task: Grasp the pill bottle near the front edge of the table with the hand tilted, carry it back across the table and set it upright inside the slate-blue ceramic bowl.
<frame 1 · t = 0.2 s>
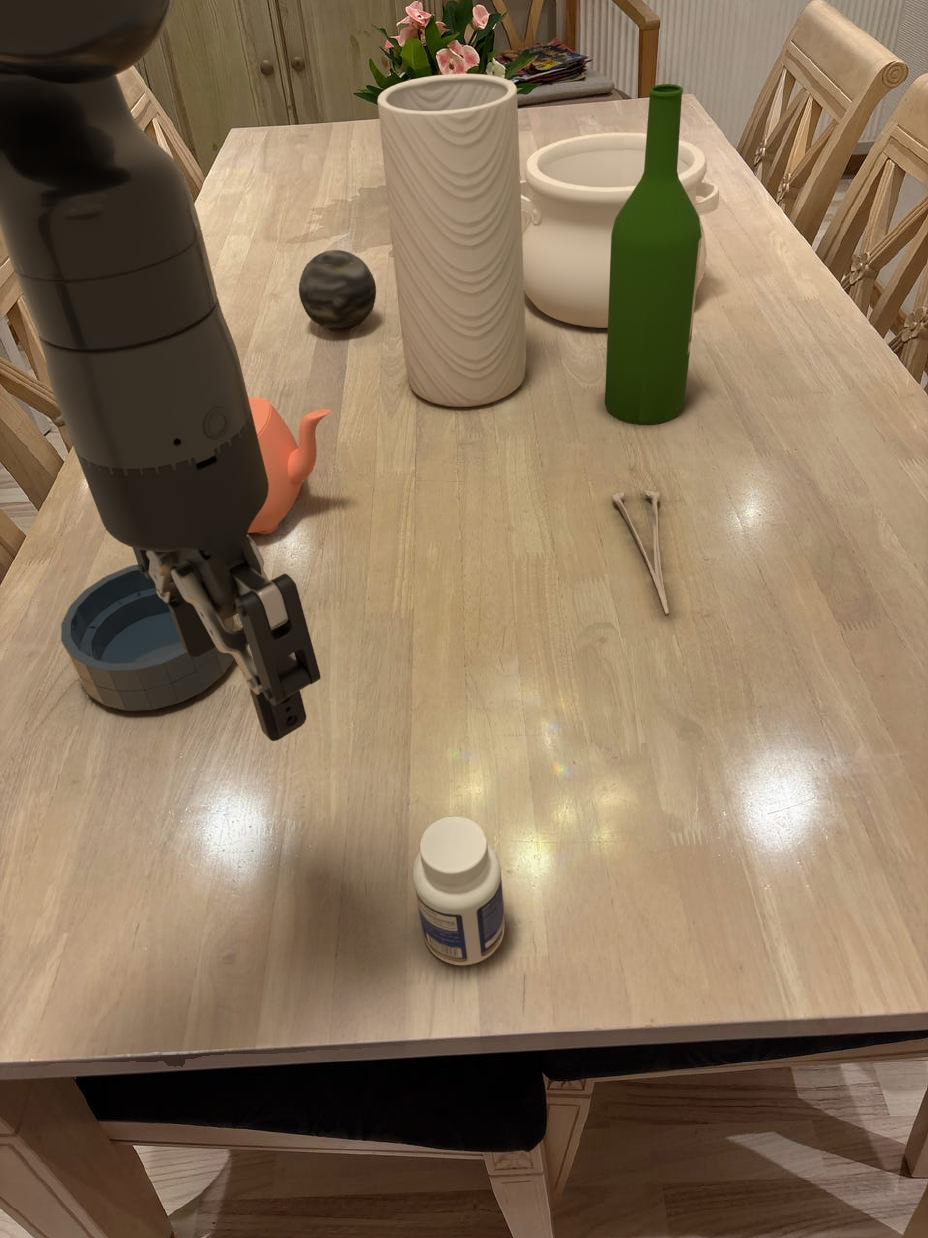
hand: (244, 686, 52), 21 cm above the table, tool pointing down, fingers open, 8 cm apart
teapot: (253, 510, 100), on the table
decorative stone: (343, 328, 130), on the table
wine bottle: (644, 406, 110), on the table
vase: (467, 382, 117), on the table
jawbone: (649, 555, 91), on the table
pill bottle: (464, 931, 63), on the table
bowl: (163, 658, 84), on the table
pot: (609, 297, 131), on the table
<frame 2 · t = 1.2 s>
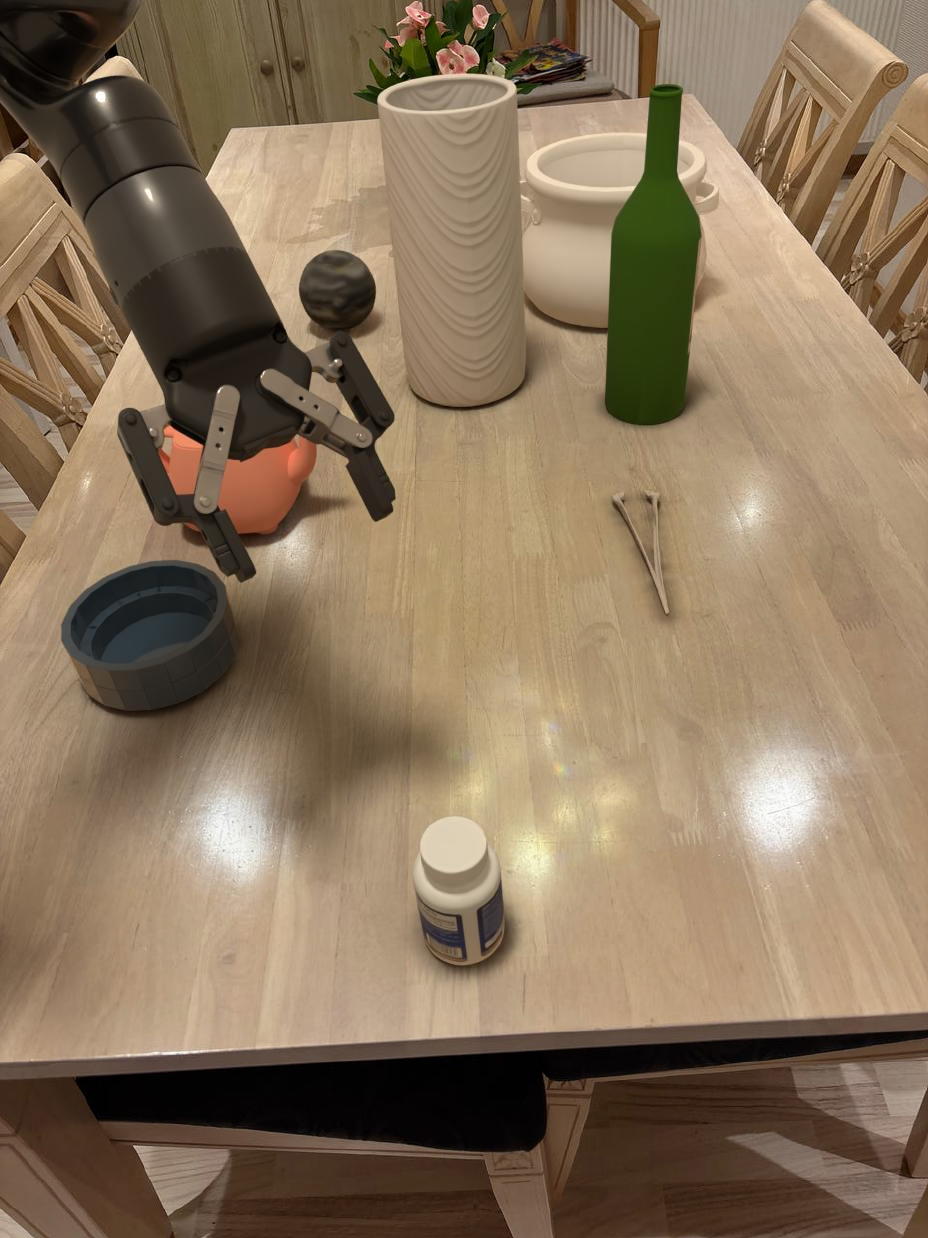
hand: (318, 546, 54), 25 cm above the table, tool tilted 45°, fingers open, 8 cm apart
nothing on the table moved.
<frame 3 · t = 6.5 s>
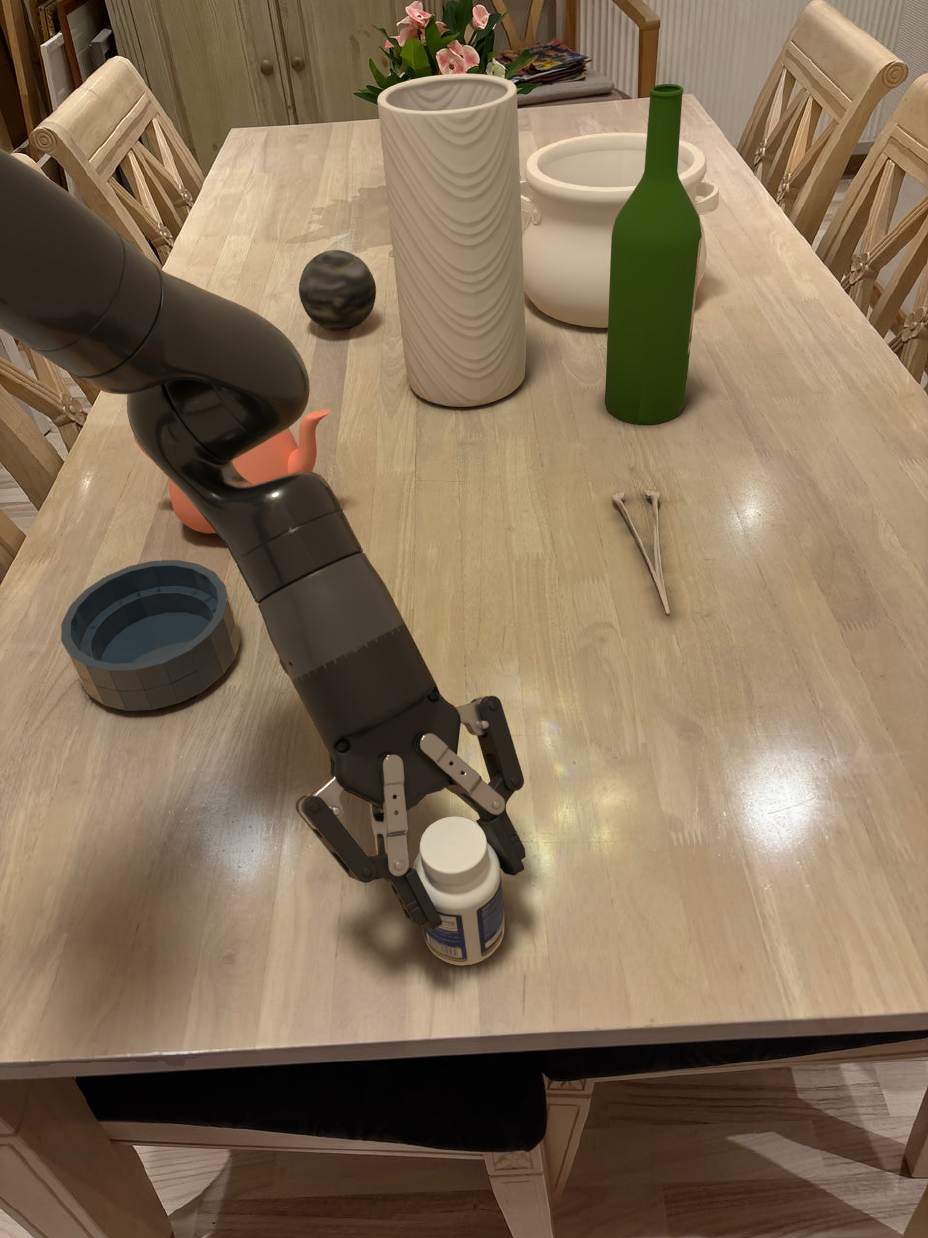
hand: (474, 897, 58), 6 cm above the table, tool tilted 45°, fingers closed on pill bottle, 5 cm apart
pill bottle: (464, 931, 63), on the table, touching gripper
everything else where it was.
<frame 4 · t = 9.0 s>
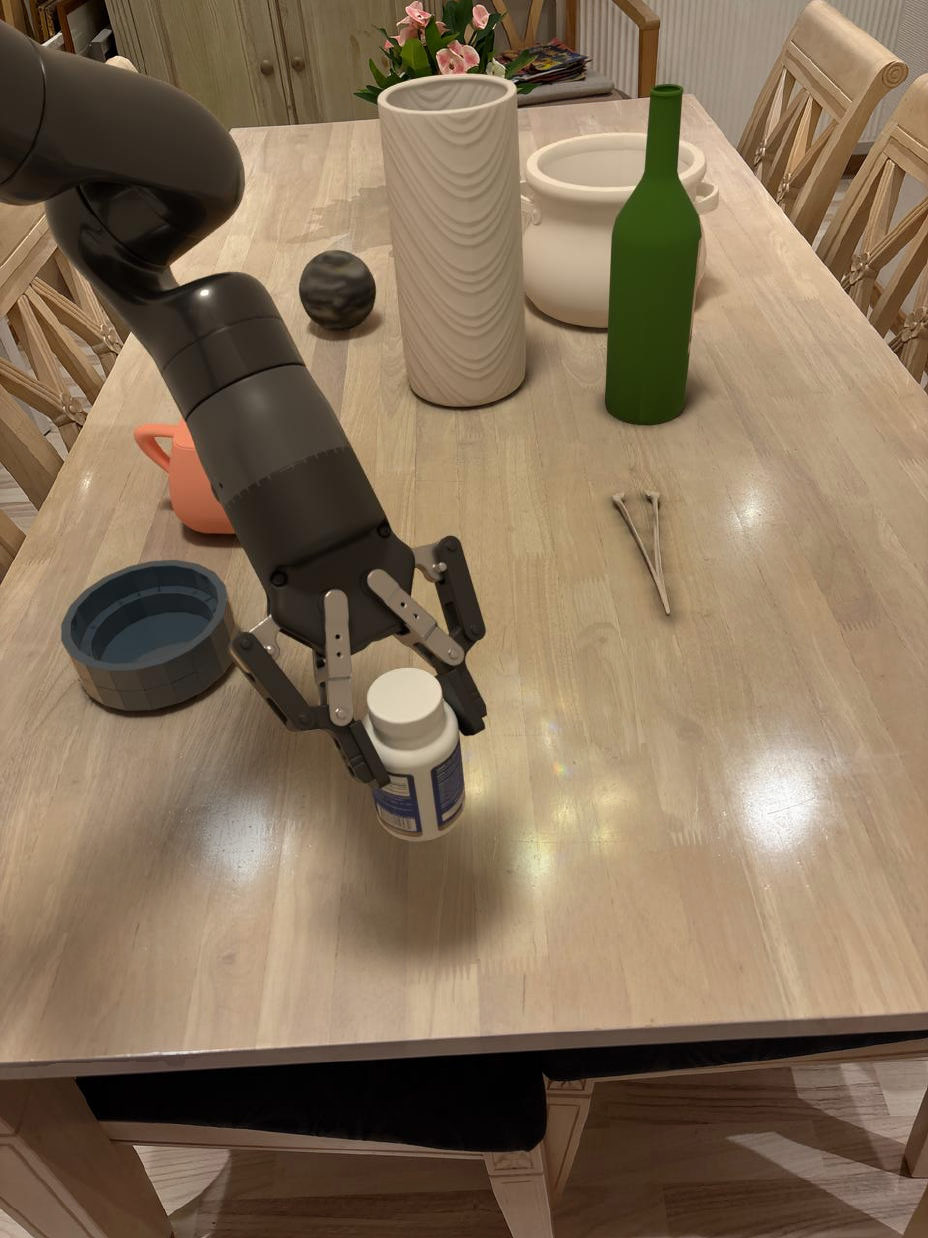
hand: (428, 757, 52), 17 cm above the table, tool tilted 45°, fingers closed on pill bottle, 5 cm apart
pill bottle: (421, 808, 57), point 11 cm above the table, touching gripper
everything else where it was.
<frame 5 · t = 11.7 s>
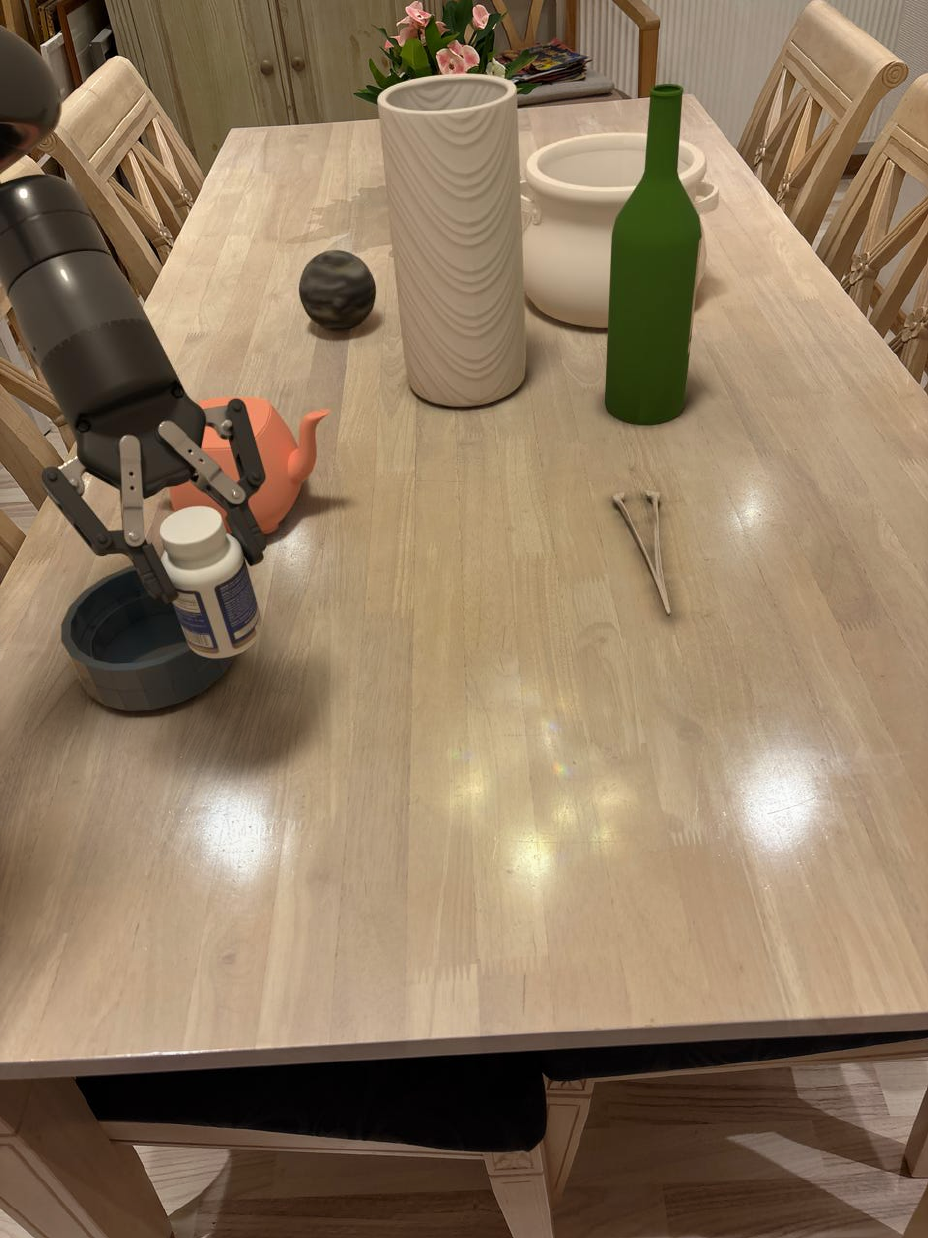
hand: (215, 579, 63), 18 cm above the table, tool tilted 45°, fingers closed on pill bottle, 5 cm apart
pill bottle: (226, 636, 68), point 12 cm above the table, touching gripper
everything else where it was.
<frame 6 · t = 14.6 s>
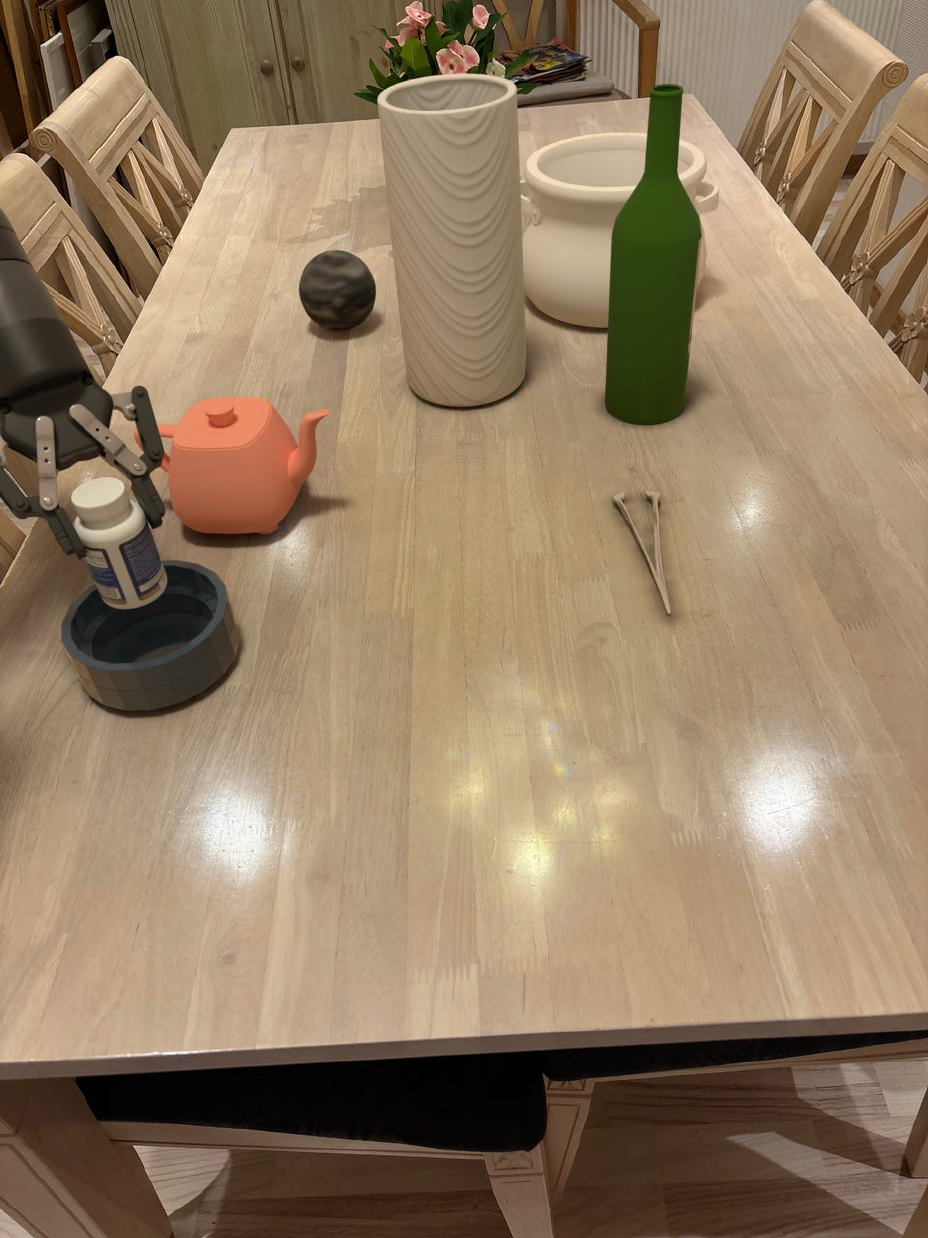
hand: (120, 539, 74), 14 cm above the table, tool tilted 45°, fingers closed on pill bottle, 5 cm apart
pill bottle: (136, 591, 79), point 8 cm above the table, touching gripper
everything else where it was.
when the fingers open (7 cm above the table, at t = 17.0 s): pill bottle stays where it is, resting on bowl.
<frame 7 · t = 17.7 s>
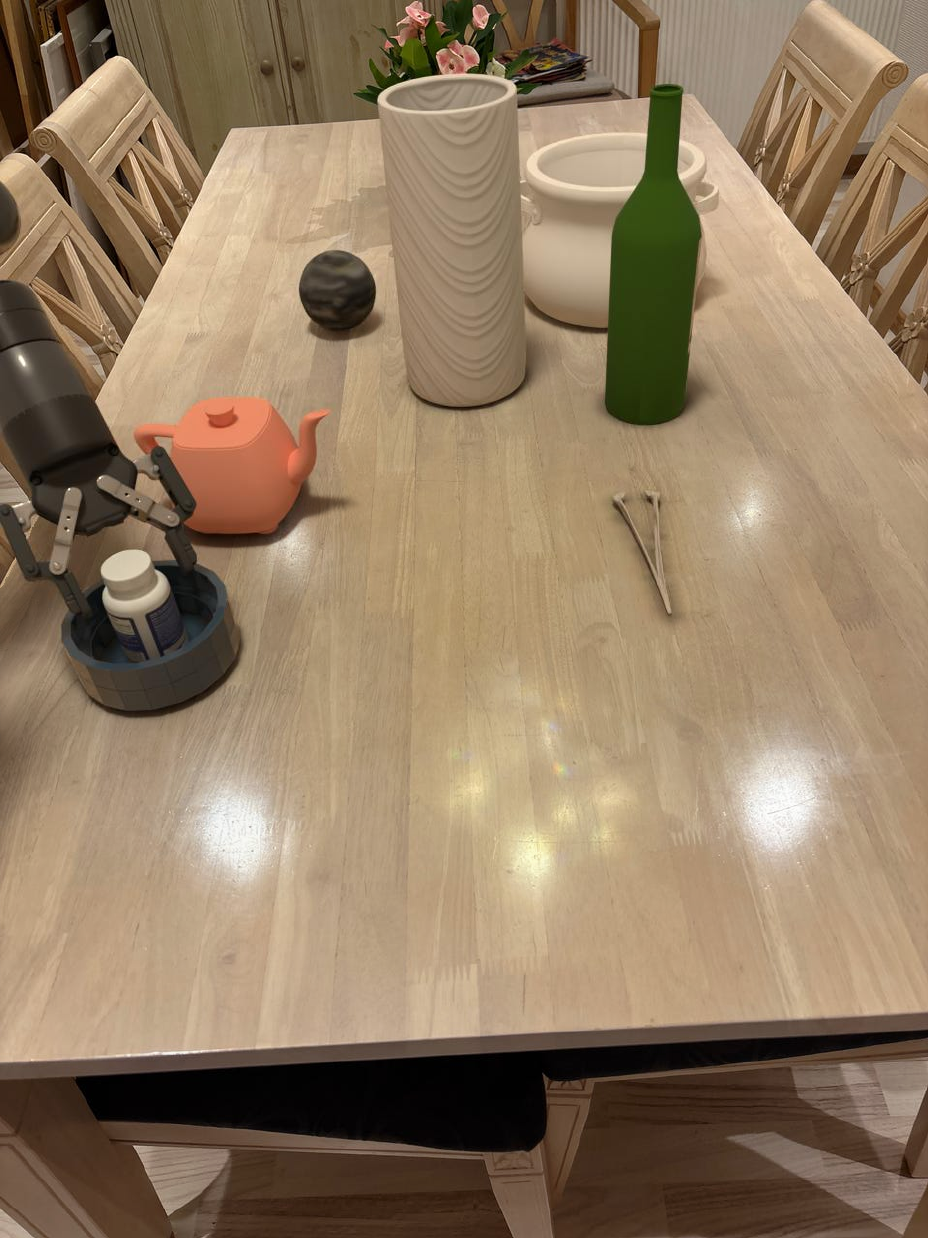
hand: (141, 595, 78), 8 cm above the table, tool tilted 45°, fingers open, 8 cm apart
pill bottle: (159, 653, 84), point 1 cm above the table, touching bowl
everything else where it was.
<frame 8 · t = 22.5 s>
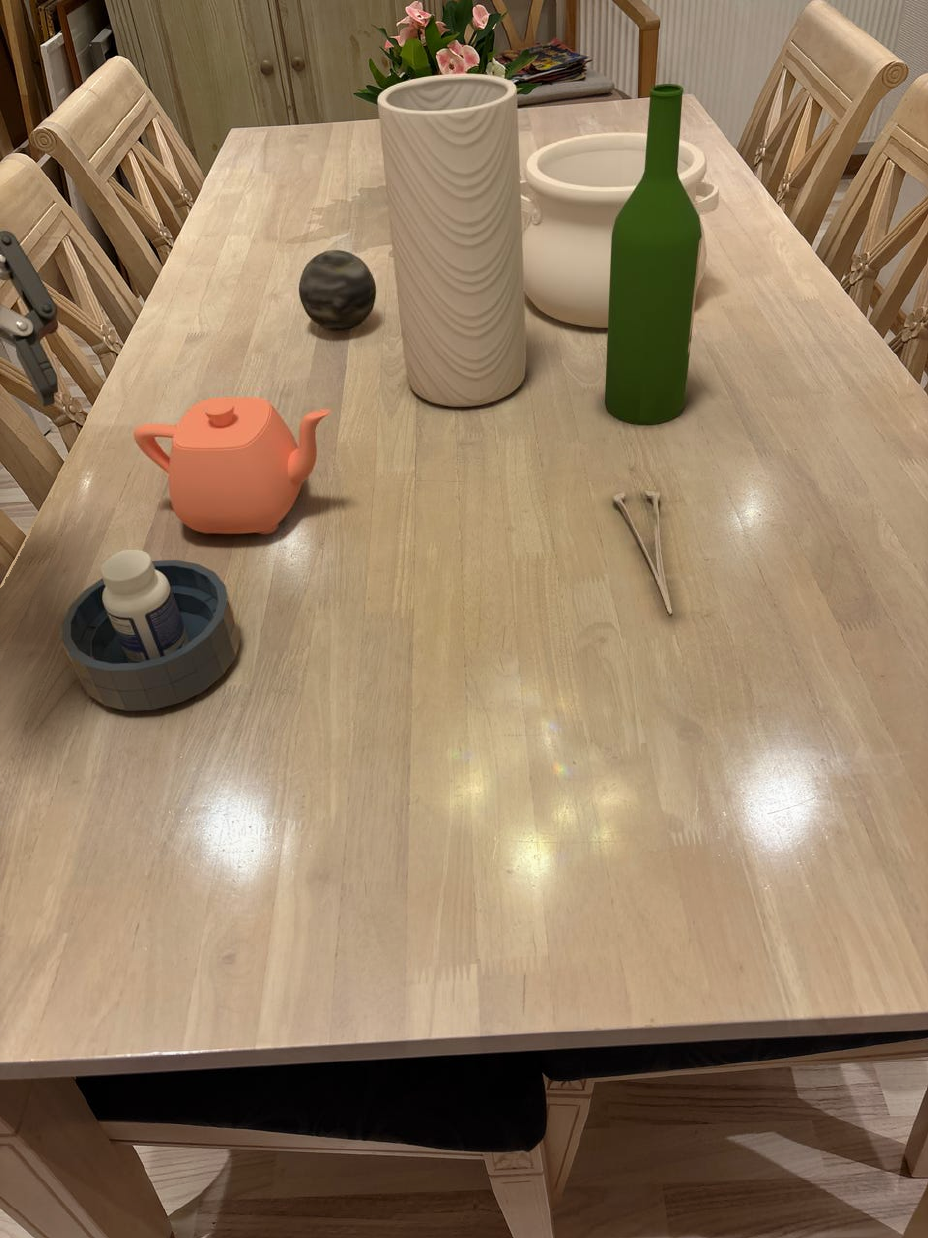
nothing on the table moved.
at the end: pill bottle inside the target area in the bowl (0.1 cm from its centre), point 0.6 cm above the bowl's base; pill bottle tilted 0°; the gripper is holding nothing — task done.
